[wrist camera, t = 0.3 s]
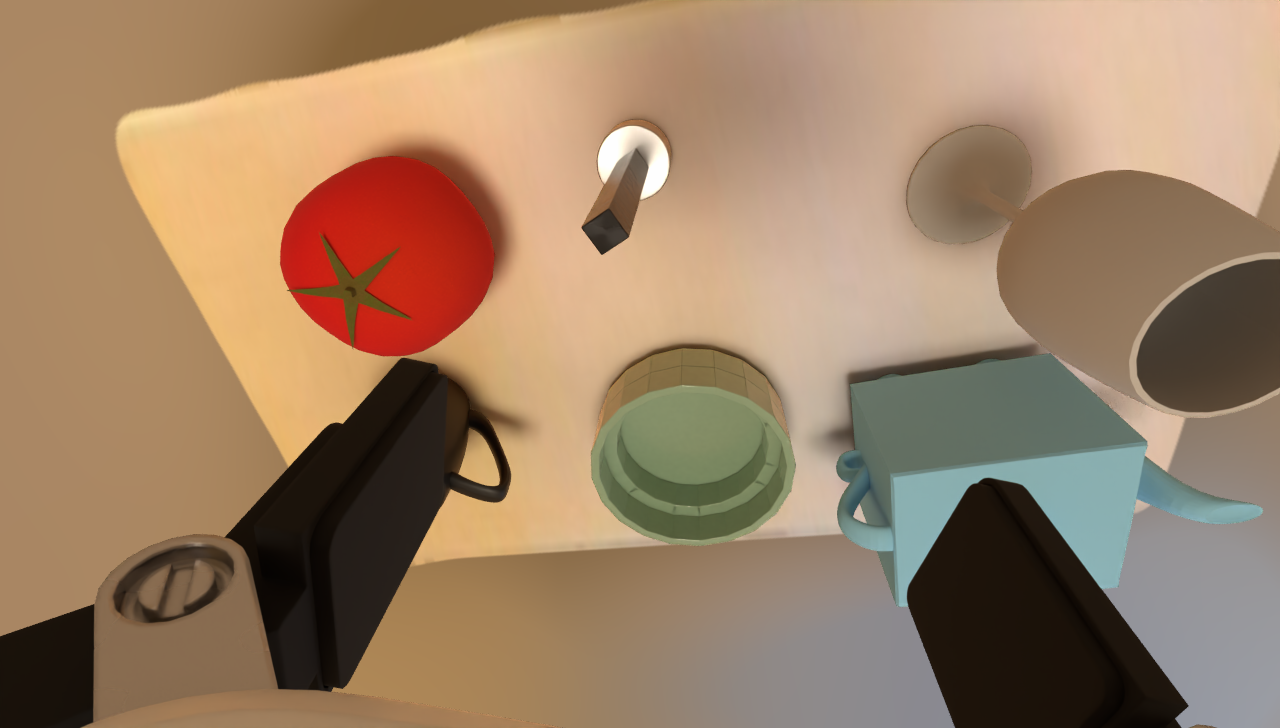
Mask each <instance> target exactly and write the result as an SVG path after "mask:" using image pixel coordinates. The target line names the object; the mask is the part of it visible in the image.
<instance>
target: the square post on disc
mask: <svg viewBox="0 0 1280 728" xmlns="http://www.w3.org/2000/svg"><path fill="white" fill-rule="evenodd" d="M670 165H671V149H670V145H669V142H668V140H667V138H666V136H665V135H664V133H663V132H662V131H661V130H660V129H659V128H658V127H657V126H655V125H654V124H652V123H650V122H647V121H644V120H628V121H624V122H622V123H620V124H618V125H617V126H615V127H614V128H613V129H612V130H611V131H610V132H609V134H608V135H607V136H606V137H605V139H604V140H603V142H602V144H601V146H600V148H599V151H598V155H597V169H598V174H599V177H600V179H601V181H602V183H603V184H604V187H603V189H602V190H601V192H600V194H599V196H598V198H597V200H596V201H595V203H594V205H593V207H592V209H591V211H590V213H589V214H588V216H587V218H586V220H585V222H584V224H583V225H582V229H583V231H584V232H585V233H586V235H587V236H588V237H589V239H590V240H591V241H592V243H593V244H594V246H595V247H596V248H597V250H598V251H599V252H600V254H601V255H603V254H604V253H606V252H607V251H609V250H610V249H612V248H613V247H615V246H617V245H618V244H620V243H621V242H623V241H624V240H626V239H627V238H628V237H629V235H630V232H631V228H632V225H633V221H634V218H635V214H636V211H637V208H638V204H639V201H640V200H644V199H647V198H650V197H651V196H653V195H655V194H656V193H657V192H658V191H659V190H660V189H661V188H662V187H663V186H664V184H665V182H666V180H667V178H668V175H669V172H670Z"/></svg>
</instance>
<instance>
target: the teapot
mask: <svg viewBox="0 0 1280 728" xmlns="http://www.w3.org/2000/svg"><path fill="white" fill-rule="evenodd" d="M850 390H851V403H852V416H853V428H854V442H855V450H852V451H848V452H845V453H843V454H842V455H841V456H840V457H839V459H838V461H837V466H836V469H837V474H838V476H839V477H840V478H841V479H842V480H843V481H845V482H851V483H850V484H849V485H848V487H847V488H846V490H845V492H844V493H843V495H842V497H841V499H840V502H839V505H838V510H837V518H838V523H839V526H840V528H841V530H842V532H843V533H844V535H845V536H846V537H847V538H848V539H850V540H851V541H852V542H854V543H856V544H857V545H859V546H862V547H864V548H867V549H870V550H875V551H877V553H878V556H879V558H880V561H881V564H882V567H883V570H884V573H885V576H886V578H887V581H888V584H889V587H890V589H891V592H892V595H893V598H894V600H895V603H896V606H898V607H904V606H908V603H907V589H908V586H909V584H910V582H911V580H912V579H913V577H914V575H915V574H916V572H917V570H918V569H919V567H920V565H921V564H922V562H923V561H924V559H925V557H926V556H927V554H928V552H929V551H930V549H931V547H932V546H933V544H934V542H935V541H936V539H937V538H938V536H939V534H940V533H941V531H942V529H943V528H944V526H945V524H946V523H947V521H948V519H949V518H950V516H951V515H952V513H953V511H954V510H955V508H956V506H957V505H958V503H959V501H960V500H961V498H962V496H963V495H964V493H965V492H966V490H967V489H968V487H969V486H970V485H972V484H974V483H978V482H979V481H980V480H982V479H983V478H994V479H999V480H1004V481H1009V482H1014V483H1018V484H1021V485H1023V486H1024V487H1025V488H1026V489H1027V490H1028V491H1029V493H1030V494H1031V495H1032V497H1033V498H1034V499H1035V501H1036V502H1037V503H1038V505H1039V506H1040V507H1041V509H1042V510H1043V511H1044V513H1045V514H1046V515H1047V517H1048V518H1049V519H1050V521H1051V522H1052V523H1053V525H1054V526H1055V527H1056V529H1057V530H1058V531H1059V533H1060V534H1061V535H1062V537H1063V538H1064V539H1065V541H1066V542H1067V543H1068V545H1069V546H1070V547H1071V549H1072V550H1073V551H1074V553H1075V554H1076V556H1077V557H1078V558H1079V560H1080V561H1081V562H1082V564H1083V565H1084V566H1085V568H1086V569H1087V570H1088V572H1089V573H1090V574H1091V576H1092V577H1093V578H1094V580H1095V581H1096V582H1097V584H1098V585H1099V586H1100V588H1101V589H1106V588H1114V587H1119V579H1120V574H1121V569H1122V565H1123V560H1124V556H1125V551H1126V546H1127V542H1128V537H1129V532H1130V527H1131V523H1132V518H1133V514H1134V509H1135V504H1136V499H1138V500H1141V501H1143V502H1145V503H1148V504H1150V505H1152V506H1155V507H1157V508H1159V509H1162V510H1164V511H1166V512H1169V513H1171V514H1174V515H1177V516H1180V517H1183V518H1187V519H1191V520H1194V521H1198V522H1203V523H1211V524H1229V523H1230V524H1231V523H1239V522H1244V521H1248V520H1251V519H1254V518H1256V517H1258V516H1259V515H1261V514H1262V512H1263V509H1262V508H1261V507H1260V506H1257V505H1255V504H1251V503H1247V502H1241V501H1234V500H1229V499H1224V498H1219V497H1215V496H1212V495H1209V494H1207V493H1203V492H1200V491H1198V490H1196V489H1194V488H1192V487H1190V486H1188V485H1186V484H1184V483H1182V482H1181V481H1179V480H1178V479H1176V478H1174V477H1173V476H1171V475H1170V474H1168V473H1167V472H1166V471H1164V470H1163V469H1162V468H1160V467H1159V466H1158V465H1156V464H1155V463H1154V462H1152V461H1151V460H1150V459H1148V458H1147V457H1146V456H1145V452H1146V449H1147V441H1146V440H1145V439H1144V438H1143V437H1142V436H1141V435H1140V434H1139V433H1138V432H1136V431H1135V430H1134V429H1133V428H1132V427H1131V426H1130V425H1129V424H1128V423H1127V422H1125V421H1124V420H1123V419H1122V418H1121V417H1120V416H1119V415H1118V414H1117V413H1116V412H1114V411H1113V410H1112V409H1111V408H1110V407H1109V406H1108V405H1107V404H1106V403H1104V402H1103V401H1102V400H1101V399H1100V398H1099V397H1098V396H1097V395H1096V394H1095V393H1093V392H1092V391H1091V390H1090V389H1089V388H1088V387H1087V386H1086V385H1085V384H1084V383H1082V382H1081V381H1080V380H1079V379H1078V378H1077V377H1076V376H1075V375H1074V374H1072V373H1071V372H1070V371H1069V370H1068V369H1067V368H1066V367H1065V366H1064V365H1063V364H1061V363H1060V362H1059V361H1058V360H1057V359H1056V358H1055V357H1054V356H1053V355H1052V354H1050V353H1049V354H1042V355H1035V356H1029V357H1022V358H1016V359H1009V360H1002V361H1001V360H998V359H986V360H983V361H980V362H979V363H977V364H975V365H970V366H963V367H957V368H950V369H944V370H937V371H931V372H924V373H918V374H911V375H905V376H901V375H898V374H889V375H885V376H882V377H881V378H879V379H878V380H873V381H866V382H860V383H854V384H850ZM859 503H860V505H861V508H862V511H863V514H864V517H865V519H866V522H867V524H866V523H863V522H860V521H858V520H857V519H855V518H854V517H853V515H854V512H855V510H856V508H857V506H858V505H859Z"/></svg>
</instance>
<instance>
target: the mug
mask: <svg viewBox="0 0 1280 728" xmlns="http://www.w3.org/2000/svg"><path fill="white" fill-rule="evenodd" d="M470 408H471V406H470V402H469V399H468V397H467V395H466V393H465V392H464V390H463V389H462V388H461V387H460V386H459V385H458V384H457V383H455V382H454V381H452V380H451V379H449V378H448V390H447V412H446V433H445V455H444V476H443V494H442V500H441V503H440V507H441V506H442V505H443V503H444V501H445V499H446V497H447V495H448V494H449V492H450V490H451V489H452V490H454V491H456V492H459V493H461V494H464V495H466V496H469V497H472V498H475V499H478V500H482V501H487V502H500V501H502V500H503V499H504V498H505V497H506V495H507V492H508V490H509V486H510V482H511V471H510V467H509V464H508V462H507V459H506V456H505V454H504V451H503V449H502V447H501V444H500V442H499V440H498V437H497V435H496V433H495V431H494V429H493V427H492V425H491V423H490V422H489V420H488V419H487V418H486V417H485V416H484V415H483V414H482V413H480V412H478V411H476V410H472V409H470ZM469 428H470V429H473V430H475V431H477V432H478V433H480V434H481V435H482V436H483V438H484V439H485V440H486V442H487V444H488V445H489V447H490V449H491V451H492V454H493V456H494V459H495V461H496V464H497V467H498V471H499V476H500V483H499V485H498V486H486V485H482V484H479V483H476V482H473V481H471V480H469V479H467V478H465V477H463V476H461V475H459V474H458V473H459V470H460V467H461V464H462V461H463V458H464V455H465V451H466V446H467V441H468V432H469ZM440 507H439V509H440Z"/></svg>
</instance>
